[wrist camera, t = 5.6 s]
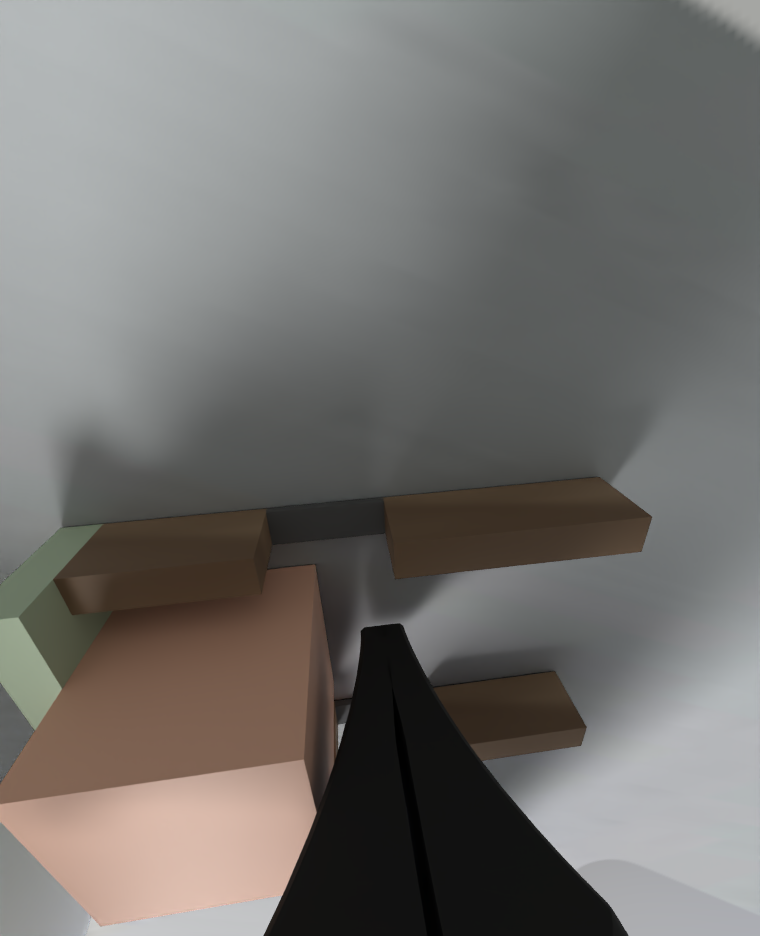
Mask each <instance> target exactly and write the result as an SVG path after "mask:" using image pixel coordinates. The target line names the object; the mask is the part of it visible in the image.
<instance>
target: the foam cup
mask: <svg viewBox="0 0 760 936" xmlns="http://www.w3.org/2000/svg"><path fill="white" fill-rule="evenodd" d="M90 919H91V916H90V915H89V914H88V913H87V912H86V911H85V909H84V908H83V907H82V906H81V905H80V904H79V903H78V902H77V901H76V900H75V899H74V898H73V897H72V896H71V895H70V894H69V893H68V892H67V891H66V890H65V889H64V888H63V887H62V885H61V884H60V883H59V882H58V881H57V880H56V879H55V878H54V877H53V876H52V875H51V874H50V873H49V872H48V871H47V870H46V869H45V868H44V867H43V866H42V865H41V864H40V863H39V862H38V860H37V859H36V858H35V857H34V856H33V855H32V854H31V853H30V852H29V851H28V850H27V849H26V848H25V847H24V846H23V845H22V844H21V843H20V842H19V841H18V840H17V839H16V838H15V836H14V835H13V834H12V833H11V832H10V831H9V830H8V829H7V828H6V827H5V826H4V825H3V824H2V823H1V822H0V936H86V933H87V930H88V926H89V922H90Z"/></svg>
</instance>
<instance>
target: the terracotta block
mask: <svg viewBox="0 0 760 936" xmlns="http://www.w3.org/2000/svg"><path fill="white" fill-rule="evenodd" d="M333 765H334V680H333V674H332V668H331V661H330V655H329V649H328V642H327V636H326V630H325V623H324V617H323V611H322V604H321V598H320V591H319V585H318V579H317V572H316V566H315V564H314V565H305V566H296V567H287V568H278V569H269V570H267V571H266V576H265V581H264V585H263V590H262V594H258V595H249V596H240V597H231V598H222V599H213V600H204V601H195V602H187V603H178V604H169V605H160V606H151V607H142V608H133V609H124V610H115V611H113V612H112V613H111V615H110V616H109V618H108V619H107V621H106V622H105V624H104V625H103V627H102V629H101V630H100V632H99V633H98V635H97V636H96V638H95V639H94V641H93V642H92V644H91V645H90V647H89V649H88V650H87V652H86V653H85V655H84V656H83V658H82V659H81V661H80V662H79V664H78V665H77V667H76V669H75V670H74V672H73V673H72V675H71V676H70V678H69V679H68V681H67V682H66V684H65V686H64V687H63V689H62V690H61V691H60V693H59V695H58V696H57V698H56V699H55V701H54V702H53V704H52V705H51V707H50V708H49V710H48V711H47V713H46V715H45V716H44V718H43V719H42V721H41V722H40V724H39V725H38V727H37V728H36V730H35V731H34V733H33V734H32V736H31V738H30V739H29V741H28V742H27V744H26V745H25V747H24V748H23V750H22V751H21V753H20V754H19V756H18V758H17V759H16V761H15V762H14V764H13V765H12V767H11V768H10V770H9V771H8V773H7V774H6V776H5V777H4V779H3V781H2V782H1V784H0V822H1V823H2V824H3V825H4V826H5V827H6V828H7V829H8V830H9V831H10V832H11V833H12V834H13V835H14V836H15V838H16V839H17V840H18V841H19V842H20V843H21V844H22V845H23V846H24V847H25V848H26V849H27V850H28V851H29V852H30V853H31V854H32V855H33V856H34V857H35V858H36V859H37V860H38V862H39V863H40V864H41V865H42V866H43V867H44V868H45V869H46V870H47V871H48V872H49V873H50V874H51V875H52V876H53V877H54V878H55V879H56V880H57V881H58V882H59V883H60V884H61V885H62V887H63V888H64V889H65V890H66V891H67V892H68V893H69V894H70V895H71V896H72V897H73V898H74V899H75V900H76V901H77V902H78V903H79V904H80V905H81V906H82V907H83V908H84V909H85V911H86V912H87V913H88V914H89V915H90V916H91V917H92V918H93V919H94V920H95V921H96V922H97V923H98V924H99V925H100V926H106V925H112V924H118V923H124V922H130V921H135V920H141V919H147V918H153V917H159V916H165V915H170V914H176V913H182V912H188V911H194V910H200V909H205V908H211V907H217V906H223V905H229V904H235V903H240V902H246V901H252V900H258V899H264V898H270V897H275V896H281V895H283V893H284V891H285V889H286V886H287V884H288V882H289V879H290V877H291V874H292V872H293V870H294V867H295V865H296V863H297V860H298V858H299V856H300V853H301V851H302V849H303V846H304V844H305V841H306V839H307V837H308V834H309V832H310V829H311V826H312V824H313V821H314V819H315V816H316V813H317V811H318V808H319V805H320V802H321V800H322V797H323V794H324V792H325V789H326V786H327V783H328V780H329V777H330V774H331V771H332V768H333Z"/></svg>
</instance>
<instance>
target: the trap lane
mask: <svg viewBox="0 0 760 936" xmlns="http://www.w3.org/2000/svg"><path fill="white" fill-rule="evenodd" d="M651 519H652V516H651V515H649V514H648V513H647V512H645V511H644V510H643V509H641V508H640V507H639V506H637V505H636V504H635V503H633V502H632V501H631V500H629V499H628V498H627V497H625V496H624V495H623V494H621V493H620V492H619V491H617V490H616V489H615V488H613V487H612V486H611V485H609V484H608V483H607V482H605V481H604V480H603V479H601V478H600V477H595V478H584V479H574V480H563V481H552V482H542V483H531V484H521V485H510V486H500V487H489V488H478V489H468V490H457V491H447V492H436V493H426V494H415V495H404V496H394V497H383V498H373V499H362V500H352V501H341V502H330V503H320V504H309V505H299V506H288V507H278V508H267V509H256V510H246V511H235V512H225V513H214V514H204V515H193V516H182V517H172V518H161V519H151V520H140V521H130V522H119V523H108V524H98V525H87V526H77V527H66V528H60V529H59V530H58V531H57V532H56V533H55V534H54V535H53V536H52V537H51V538H50V539H48V540H47V541H46V542H45V543H44V544H43V545H42V546H41V547H40V548H39V549H38V550H37V551H36V552H35V553H34V554H33V555H31V556H30V557H29V558H28V559H27V560H26V561H25V562H24V563H23V564H22V565H21V566H20V567H19V568H18V569H17V570H15V571H14V572H13V573H12V574H11V575H10V576H9V577H8V578H7V579H6V580H5V581H4V582H3V583H2V584H1V585H0V683H1V684H2V686H3V687H4V688H5V690H6V691H7V693H8V694H9V695H10V697H11V698H12V700H13V701H14V702H15V704H16V705H17V707H18V708H19V709H20V711H21V712H22V714H23V715H24V716H25V718H26V719H27V721H28V722H29V723H30V725H31V726H32V728H33V729H34V730H36V728H37V727H38V725H39V724H40V722H41V721H42V719H43V718H44V716H45V715H46V713H47V711H48V710H49V708H50V707H51V705H52V704H53V702H54V701H55V699H56V698H57V696H58V695H59V693H60V691H61V690H62V689H63V687H64V686H65V684H66V682H67V681H68V679H69V678H70V676H71V675H72V673H73V672H74V670H75V669H76V667H77V665H78V664H79V662H80V661H81V659H82V658H83V656H84V655H85V653H86V652H87V650H88V649H89V647H90V645H91V644H92V642H93V641H94V639H95V638H96V636H97V635H98V633H99V632H100V630H101V629H102V627H103V625H104V624H105V622H106V621H107V619H108V618H109V616H110V615H111V613H112V612H113V611H115V610H124V609H133V608H142V607H151V606H160V605H169V604H178V603H187V602H195V601H204V600H213V599H222V598H231V597H240V596H249V595H258V594H262V590H263V585H264V581H265V576H266V571H267V567H268V562H269V558H270V553H271V548H272V545H275V544H285V543H295V542H305V541H314V540H324V539H334V538H344V537H354V536H364V535H373V534H383V533H385V534H386V539H387V544H388V549H389V553H390V558H391V563H392V567H393V572H394V577H395V579H401V578H410V577H419V576H428V575H437V574H446V573H455V572H464V571H473V570H482V569H491V568H500V567H509V566H518V565H527V564H536V563H545V562H554V561H563V560H572V559H580V558H589V557H598V556H607V555H616V554H625V553H634V552H641V551H642V548H643V545H644V542H645V538H646V535H647V532H648V529H649V526H650V522H651ZM433 689H434V690H435V692H436V694H437V696H438V697H439V699H440V701H441V702H442V704H443V705H444V707H445V709H446V710H447V712H448V713H449V715H450V716H451V718H452V720H453V721H454V723H455V724H456V726H457V727H458V729H459V730H460V732H461V733H462V734H463V736H464V737H465V739H466V740H467V742H468V743H469V745H470V746H471V747H472V749H473V750H474V751H475V753H476V754H477V755H478V757H479V758H480V760H481V761H483V760H490V759H496V758H503V757H510V756H516V755H523V754H529V753H536V752H543V751H549V750H556V749H562V748H569V747H576V746H581V744H582V741H583V738H584V734H585V731H586V728H587V727H586V725H585V724H584V722H583V720H582V718H581V716H580V715H579V713H578V711H577V709H576V708H575V706H574V704H573V702H572V701H571V699H570V697H569V695H568V693H567V692H566V690H565V688H564V686H563V685H562V683H561V681H560V679H559V678H558V676H557V674H556V672H555V671H554V672H546V673H539V674H531V675H524V676H517V677H509V678H502V679H494V680H487V681H480V682H472V683H465V684H457V685H450V686H443V687H435V688H433ZM351 701H352V699H346V700H339V701H334V762H335V759H336V756H337V753H338V724H344V723H346V721H347V717H348V713H349V709H350V705H351Z"/></svg>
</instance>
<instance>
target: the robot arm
mask: <svg viewBox="0 0 760 936" xmlns="http://www.w3.org/2000/svg"><path fill="white" fill-rule="evenodd" d="M264 936H628V934H627V932H626V931H625V929H624V927H623V926H622V924H621V922H620V921H619V919H618V918H617V916H616V915H615V913H614V911H613V910H612V908H611V907H610V906H609V904H608V903H607V902H606V901H605V900H604V899H603V898H602V897H601V896H600V895H599V894H598V893H597V892H596V891H595V890H594V889H593V888H592V887H591V886H590V885H589V884H588V883H587V882H586V881H585V880H584V879H583V878H582V877H581V876H580V874H578V872H577V871H576V870H575V869H574V868H573V867H572V866H571V865H570V864H569V863H568V862H567V861H566V860H565V859H564V858H563V857H562V856H561V854H560V853H559V852H558V851H557V850H556V849H555V848H554V847H553V846H552V845H551V843H550V842H549V841H548V840H547V839H546V838H545V837H544V836H543V835H542V834H541V833H540V831H539V830H538V829H537V828H536V827H535V826H534V825H533V823H532V822H531V821H530V820H529V819H528V817H527V816H526V815H525V814H524V813H523V812H522V810H521V809H520V808H519V807H518V806H517V804H516V803H515V802H514V801H513V800H512V799H511V797H510V796H509V795H508V794H507V793H506V791H505V790H504V789H503V788H502V787H501V785H500V784H499V783H498V782H497V780H496V779H495V778H494V776H493V775H492V774H491V773H490V771H489V770H488V769H487V767H486V766H485V765H484V764H483V762H482V761H481V760H480V758H479V757H478V755H477V754H476V753H475V751H474V750H473V749H472V747H471V746H470V745H469V743H468V742H467V740H466V739H465V737H464V736H463V734H462V733H461V732H460V730H459V729H458V727H457V726H456V724H455V723H454V721H453V720H452V718H451V716H450V715H449V713H448V712H447V710H446V709H445V707H444V705H443V704H442V702H441V701H440V699H439V697H438V696H437V694H436V692H435V690H434V689H433V687H432V685H431V684H430V682H429V680H428V678H427V677H426V675H425V673H424V671H423V669H422V667H421V665H420V663H419V661H418V659H417V657H416V655H415V653H414V651H413V649H412V647H411V645H410V642H409V640H408V638H407V635H406V633H405V630H404V627H403V625H401V624H400V623H398V624H389V625H381V626H372V627H364V628H363V629H362V630H361V647H360V657H359V665H358V671H357V677H356V682H355V687H354V691H353V696H352V701H351V705H350V709H349V713H348V717H347V721H346V724H345V728H344V732H343V736H342V739H341V743H340V746H339V749H338V753H337V756H336V759H335V762H334V765H333V768H332V771H331V774H330V777H329V780H328V783H327V786H326V789H325V792H324V794H323V797H322V800H321V802H320V805H319V808H318V811H317V813H316V816H315V819H314V821H313V824H312V826H311V829H310V832H309V834H308V837H307V839H306V841H305V844H304V846H303V849H302V851H301V853H300V856H299V858H298V860H297V863H296V865H295V867H294V870H293V872H292V874H291V877H290V879H289V882H288V884H287V886H286V889H285V891H284V893H283V895H282V897H281V900H280V902H279V904H278V906H277V908H276V911H275V913H274V915H273V917H272V919H271V921H270V923H269V925H268V927H267V930H266V932H265V934H264Z"/></svg>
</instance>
